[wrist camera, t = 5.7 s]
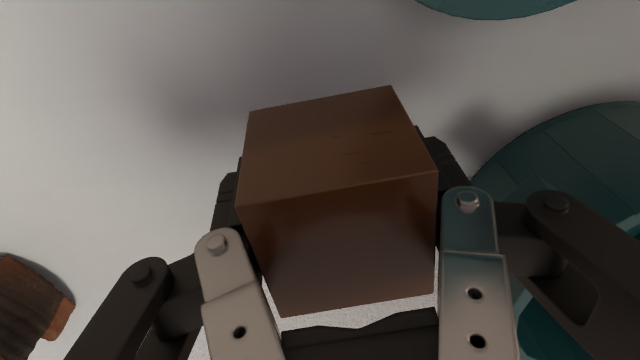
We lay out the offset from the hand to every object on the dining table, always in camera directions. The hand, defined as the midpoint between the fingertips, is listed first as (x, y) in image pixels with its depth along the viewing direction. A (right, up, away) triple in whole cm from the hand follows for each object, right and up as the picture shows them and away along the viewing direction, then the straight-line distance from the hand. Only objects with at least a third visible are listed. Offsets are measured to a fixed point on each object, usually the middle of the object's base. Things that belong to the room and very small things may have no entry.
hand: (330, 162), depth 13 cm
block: (0, 0, 0) cm, 0 cm away
